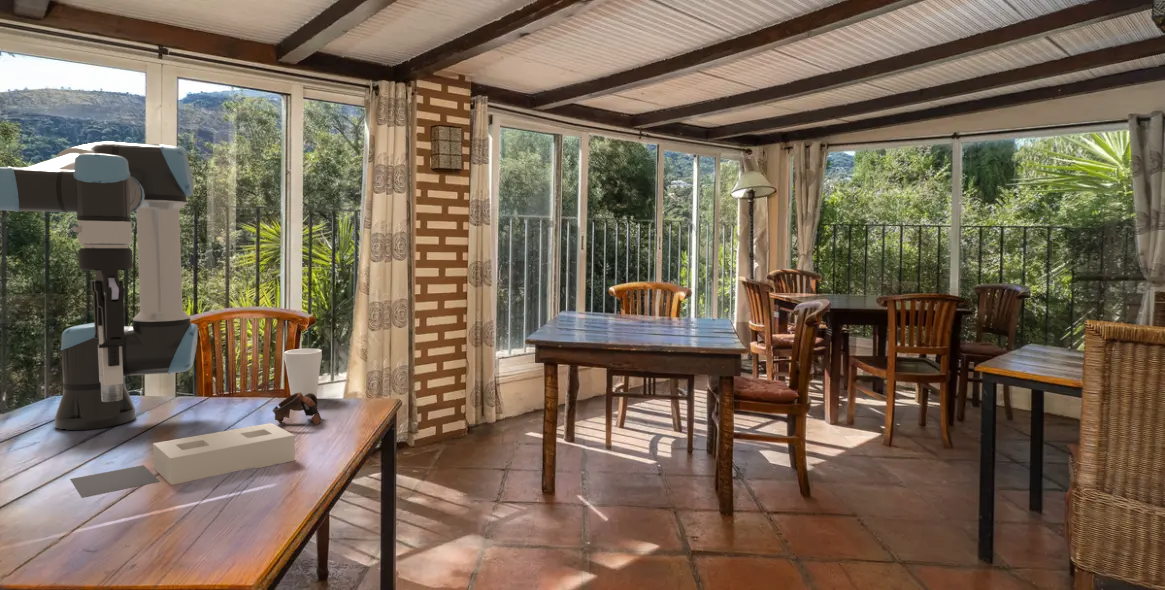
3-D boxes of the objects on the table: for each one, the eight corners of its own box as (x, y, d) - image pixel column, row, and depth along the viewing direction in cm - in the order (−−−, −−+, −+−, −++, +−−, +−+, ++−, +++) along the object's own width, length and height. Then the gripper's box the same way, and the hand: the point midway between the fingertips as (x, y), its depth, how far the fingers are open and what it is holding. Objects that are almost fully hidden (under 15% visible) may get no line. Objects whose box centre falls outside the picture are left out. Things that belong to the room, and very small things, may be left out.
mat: (70, 481, 117) (70, 478, 117) (143, 467, 125) (143, 464, 125) (82, 500, 109) (81, 497, 109) (160, 483, 117) (160, 481, 117)
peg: (100, 399, 116) (96, 325, 115) (120, 396, 118) (117, 323, 117) (103, 402, 114) (100, 327, 113) (124, 400, 116) (121, 325, 115)
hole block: (153, 469, 124) (153, 443, 123) (271, 446, 138) (271, 423, 138) (171, 486, 115) (170, 458, 115) (294, 460, 130) (294, 435, 130)
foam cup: (299, 404, 175) (298, 355, 174) (277, 399, 180) (276, 351, 179) (330, 397, 183) (329, 350, 182) (308, 393, 188) (307, 347, 187)
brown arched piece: (314, 431, 152) (294, 402, 150) (281, 446, 154) (260, 418, 152) (335, 405, 164) (316, 378, 161) (304, 420, 166) (285, 393, 163)
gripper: (70, 245, 117) (76, 378, 119) (86, 247, 106) (93, 393, 108) (121, 246, 122) (126, 372, 124) (142, 247, 111) (147, 387, 113)
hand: (111, 382), depth 116 cm, fingers closed on peg, 3 cm apart
